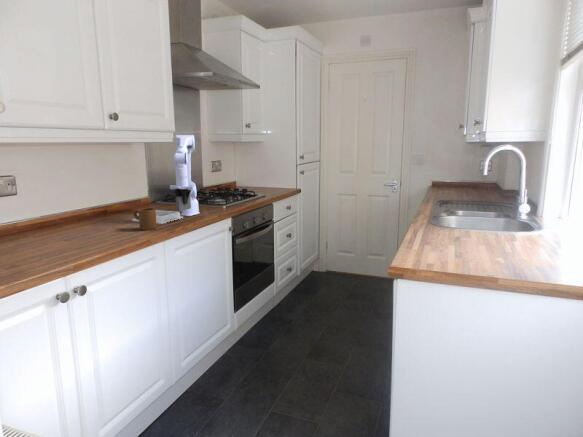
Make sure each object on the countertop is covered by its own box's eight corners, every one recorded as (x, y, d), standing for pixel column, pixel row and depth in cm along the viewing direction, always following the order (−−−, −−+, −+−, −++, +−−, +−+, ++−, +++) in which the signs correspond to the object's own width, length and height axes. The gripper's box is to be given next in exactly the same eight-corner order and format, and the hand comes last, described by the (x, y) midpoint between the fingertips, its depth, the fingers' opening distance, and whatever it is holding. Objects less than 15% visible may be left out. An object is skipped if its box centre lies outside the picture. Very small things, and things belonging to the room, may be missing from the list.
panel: (187, 208, 215) (187, 194, 213) (191, 208, 214) (190, 195, 212) (176, 211, 207) (175, 197, 205) (179, 211, 206) (178, 197, 204)
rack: (154, 215, 227) (153, 209, 226) (183, 218, 218) (182, 211, 218) (131, 221, 213) (131, 214, 212) (161, 224, 204) (161, 217, 204)
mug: (129, 229, 193) (127, 209, 191) (141, 226, 200) (139, 207, 198) (148, 231, 188) (147, 211, 186) (160, 228, 195) (158, 208, 193)
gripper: (164, 177, 206) (166, 204, 209) (188, 178, 200) (189, 205, 203) (174, 176, 213) (176, 202, 215) (197, 176, 207) (198, 203, 209)
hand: (183, 203), depth 210 cm, fingers closed on panel, 2 cm apart
